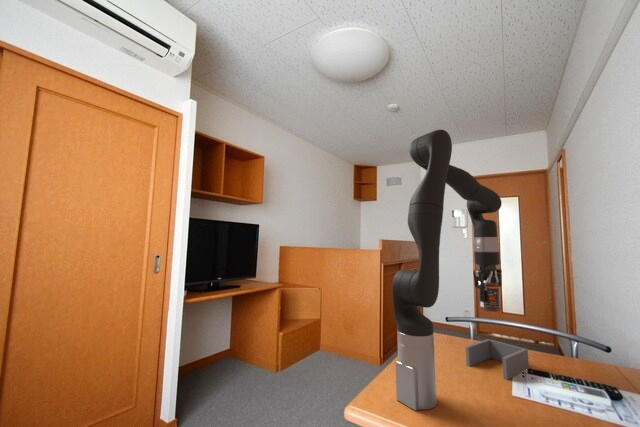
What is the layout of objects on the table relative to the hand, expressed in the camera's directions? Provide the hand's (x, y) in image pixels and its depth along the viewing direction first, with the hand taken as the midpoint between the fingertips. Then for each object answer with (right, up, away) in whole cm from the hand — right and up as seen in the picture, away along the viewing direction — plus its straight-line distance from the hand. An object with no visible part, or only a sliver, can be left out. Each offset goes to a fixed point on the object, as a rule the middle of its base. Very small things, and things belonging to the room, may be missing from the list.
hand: (489, 300), depth 97 cm
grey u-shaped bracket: (+1, -21, -2) cm, 21 cm away
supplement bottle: (0, -3, 0) cm, 3 cm away
